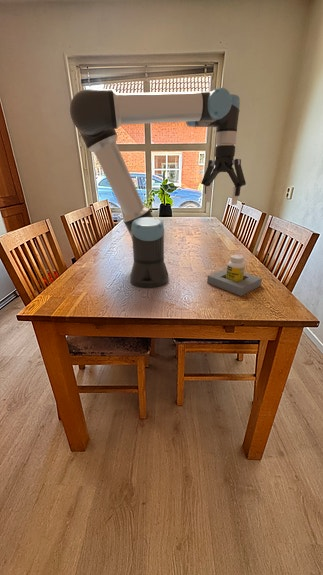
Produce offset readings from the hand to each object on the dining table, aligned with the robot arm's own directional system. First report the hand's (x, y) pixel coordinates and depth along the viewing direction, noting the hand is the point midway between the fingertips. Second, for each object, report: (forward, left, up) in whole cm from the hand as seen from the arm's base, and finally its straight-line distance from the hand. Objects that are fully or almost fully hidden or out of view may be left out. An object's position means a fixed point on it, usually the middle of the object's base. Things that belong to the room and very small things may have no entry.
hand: (220, 203), depth 105 cm
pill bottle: (-14, -20, -27) cm, 36 cm away
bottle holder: (-14, -20, -27) cm, 36 cm away
